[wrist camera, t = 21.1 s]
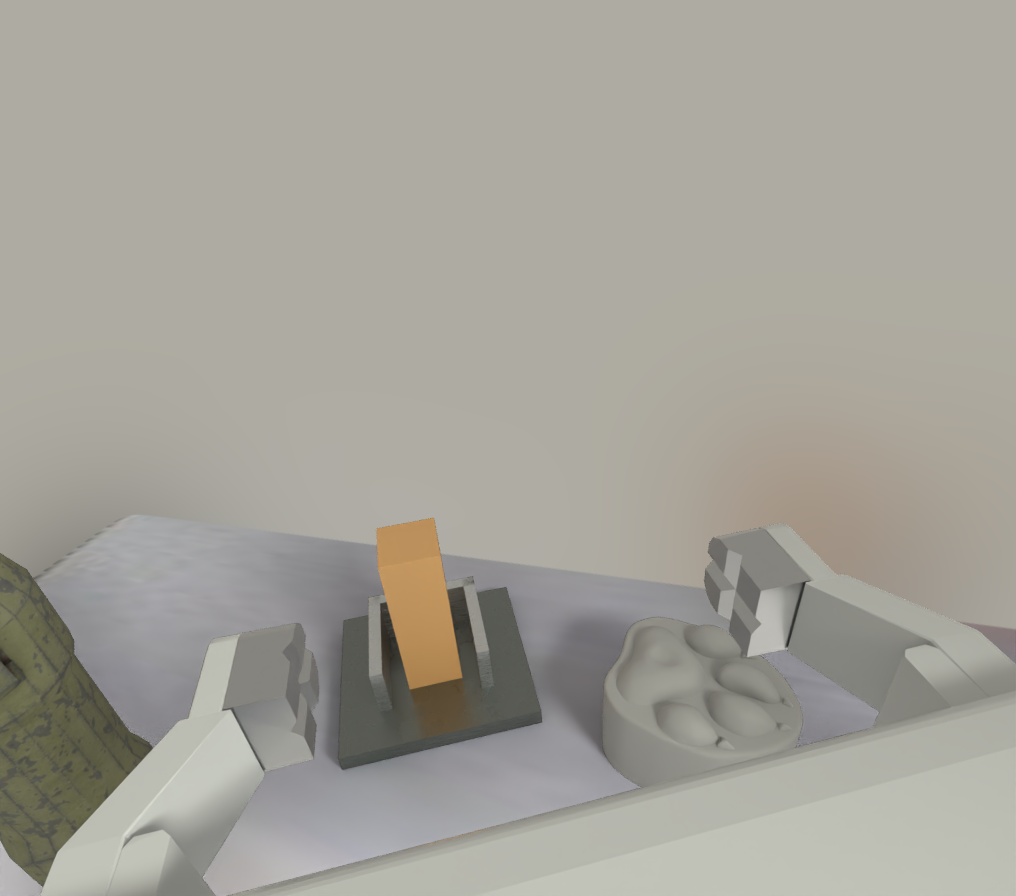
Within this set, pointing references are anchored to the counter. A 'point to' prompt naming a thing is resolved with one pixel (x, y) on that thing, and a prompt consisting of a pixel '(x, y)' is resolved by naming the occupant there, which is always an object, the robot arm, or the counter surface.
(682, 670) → the lumpy-topped squat cylinder
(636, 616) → the counter surface
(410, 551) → the tall orange pillar
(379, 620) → the grey rail base plate
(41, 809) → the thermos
